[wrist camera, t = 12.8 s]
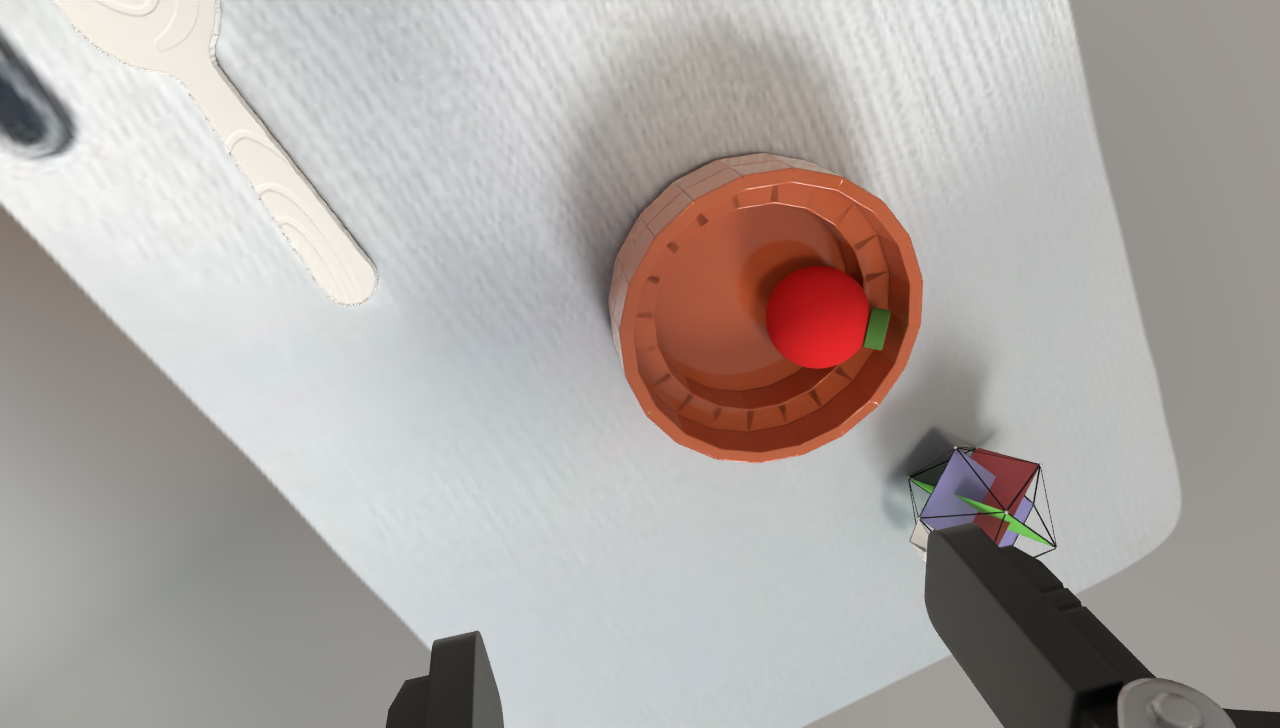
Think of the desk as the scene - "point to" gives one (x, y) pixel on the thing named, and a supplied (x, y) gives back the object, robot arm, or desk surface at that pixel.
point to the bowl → (755, 305)
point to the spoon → (229, 125)
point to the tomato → (823, 318)
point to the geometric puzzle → (980, 498)
